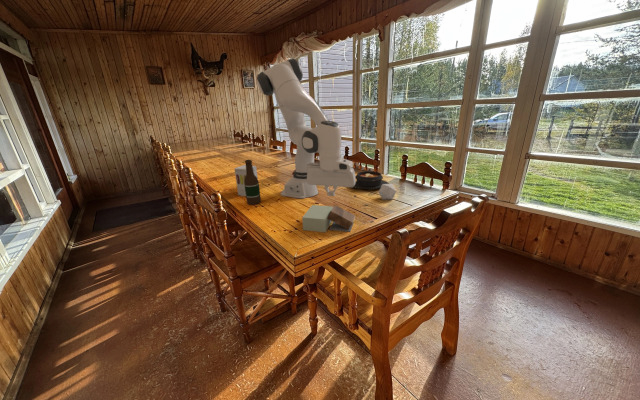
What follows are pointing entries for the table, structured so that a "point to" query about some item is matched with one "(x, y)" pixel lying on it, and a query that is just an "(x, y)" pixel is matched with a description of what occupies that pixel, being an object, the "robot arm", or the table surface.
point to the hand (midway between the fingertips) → (331, 195)
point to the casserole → (369, 180)
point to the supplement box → (242, 178)
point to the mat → (339, 227)
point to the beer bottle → (251, 185)
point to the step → (317, 218)
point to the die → (387, 191)
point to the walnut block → (341, 217)
